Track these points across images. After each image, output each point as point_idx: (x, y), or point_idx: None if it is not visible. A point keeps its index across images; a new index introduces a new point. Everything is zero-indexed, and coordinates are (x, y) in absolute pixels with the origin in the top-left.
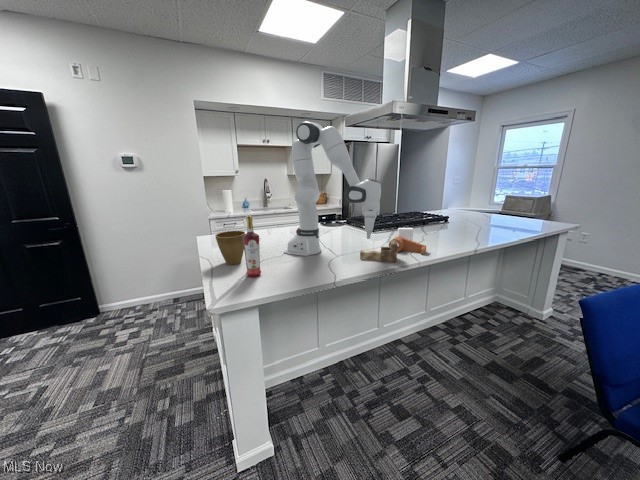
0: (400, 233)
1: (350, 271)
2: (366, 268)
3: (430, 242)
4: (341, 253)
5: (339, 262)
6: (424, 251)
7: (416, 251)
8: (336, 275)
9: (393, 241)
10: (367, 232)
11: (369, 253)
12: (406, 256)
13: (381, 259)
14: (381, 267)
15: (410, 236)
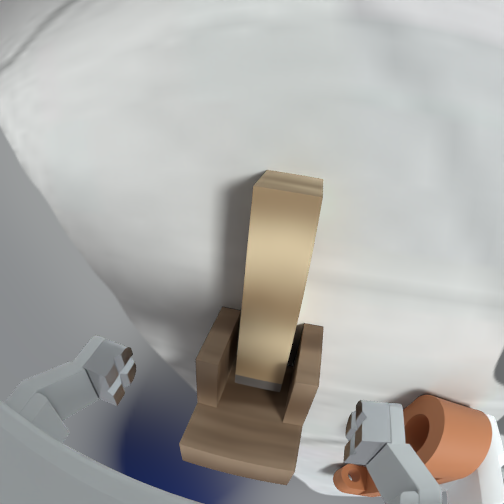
0: (475, 488)
1: (46, 119)
2: (94, 205)
3: None
4: (418, 20)
5: (168, 15)
6: (335, 480)
7: None
8: (10, 67)
9: (251, 470)
10: (23, 389)
11: (247, 267)
12: (323, 427)
13: (217, 319)
14: (129, 287)
15: (451, 494)
